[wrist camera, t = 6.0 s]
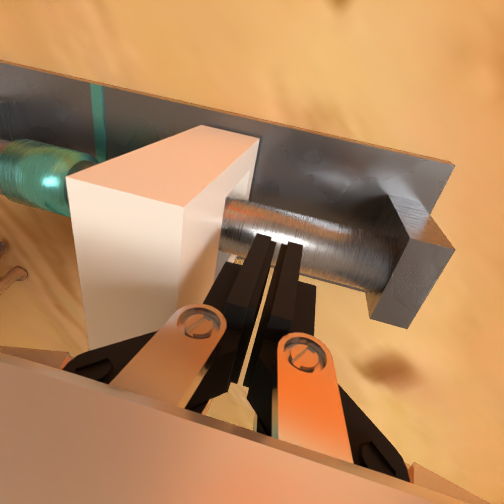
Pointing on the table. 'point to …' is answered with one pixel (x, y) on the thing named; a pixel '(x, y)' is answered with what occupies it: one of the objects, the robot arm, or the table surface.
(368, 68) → the table surface
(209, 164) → the collar
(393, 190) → the pipe rail
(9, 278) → the lion figurine
